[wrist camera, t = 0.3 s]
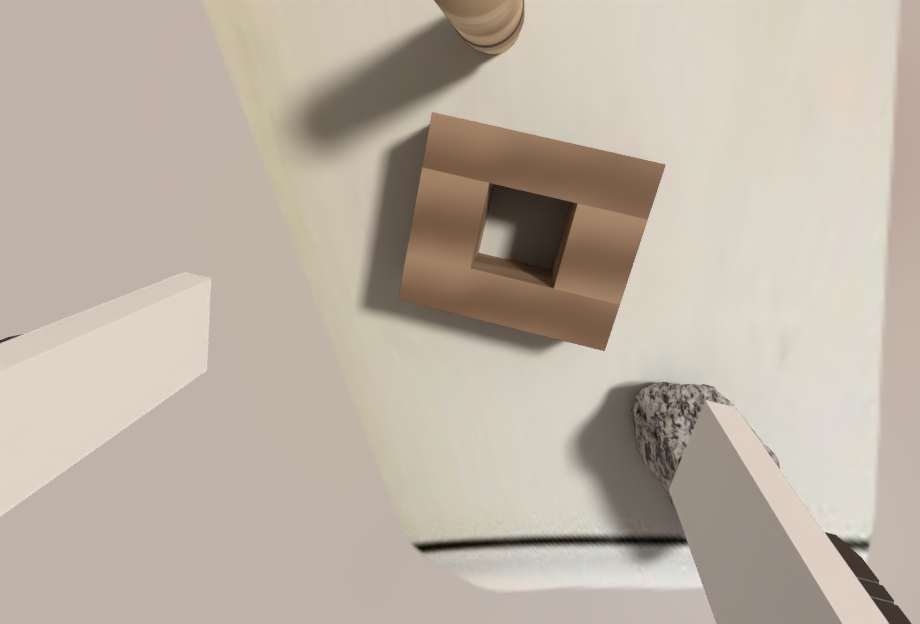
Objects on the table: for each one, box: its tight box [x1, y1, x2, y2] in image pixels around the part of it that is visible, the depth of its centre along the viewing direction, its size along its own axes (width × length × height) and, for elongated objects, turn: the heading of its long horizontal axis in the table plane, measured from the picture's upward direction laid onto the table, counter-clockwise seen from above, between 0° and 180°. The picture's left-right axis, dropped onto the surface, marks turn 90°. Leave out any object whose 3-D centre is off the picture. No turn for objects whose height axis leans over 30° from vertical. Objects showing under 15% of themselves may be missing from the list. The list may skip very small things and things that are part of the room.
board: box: [398, 112, 665, 351], centre depth 36 cm, size 12×14×5 cm
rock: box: [631, 382, 780, 505], centre depth 38 cm, size 16×8×10 cm, turn 14°
